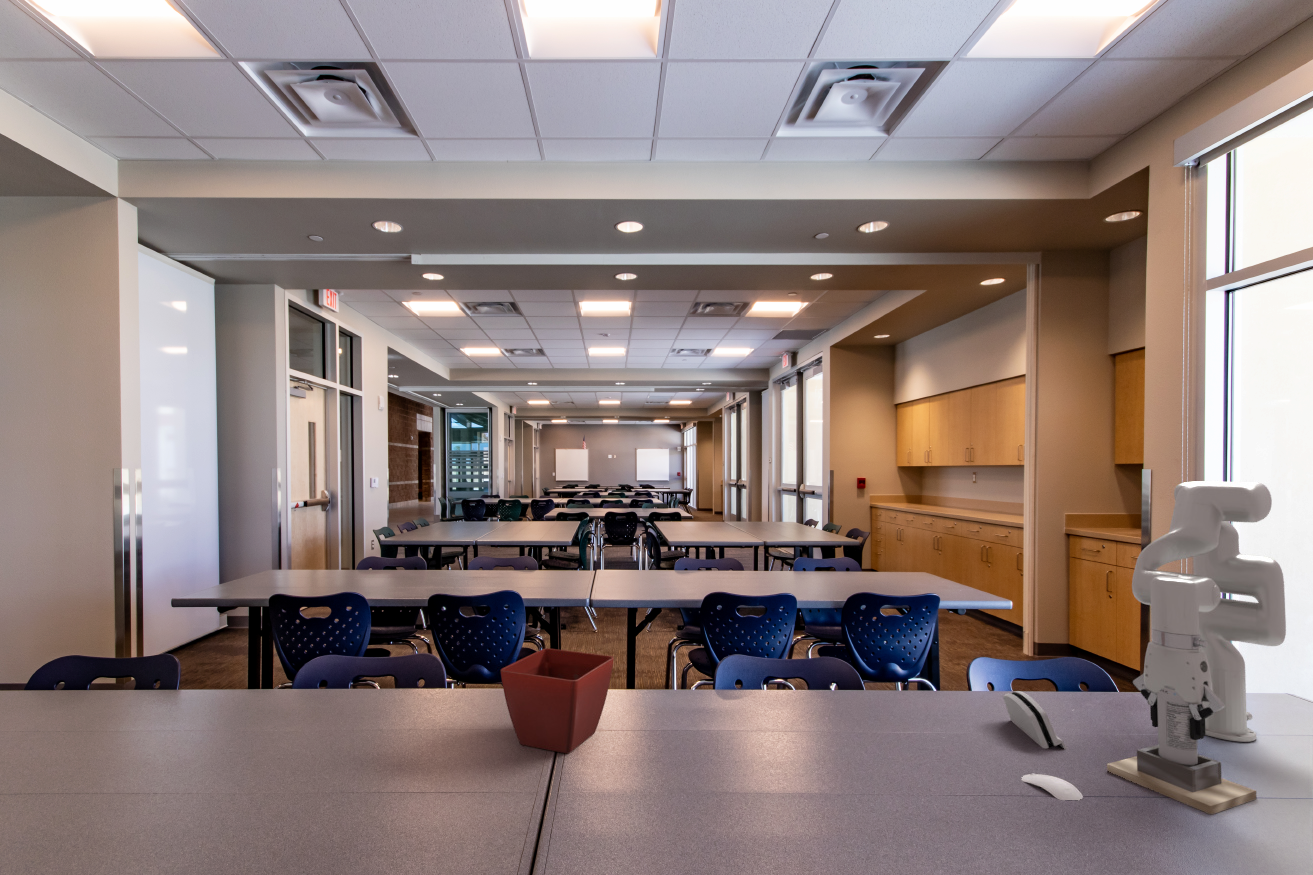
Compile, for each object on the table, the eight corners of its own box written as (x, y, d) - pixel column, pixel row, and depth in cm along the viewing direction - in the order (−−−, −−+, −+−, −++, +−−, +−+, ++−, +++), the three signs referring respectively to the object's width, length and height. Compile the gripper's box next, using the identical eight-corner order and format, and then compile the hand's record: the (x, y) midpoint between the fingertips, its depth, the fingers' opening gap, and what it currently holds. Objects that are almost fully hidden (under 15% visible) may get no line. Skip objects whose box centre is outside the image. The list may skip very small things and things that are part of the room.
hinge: (1067, 749, 143) (1050, 705, 144) (1046, 755, 143) (1029, 711, 144) (1031, 720, 159) (1016, 681, 160) (1012, 726, 160) (997, 687, 161)
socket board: (1151, 759, 139) (1150, 733, 139) (1256, 798, 122) (1255, 768, 122) (1107, 771, 133) (1106, 743, 133) (1211, 814, 116) (1210, 783, 116)
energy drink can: (1192, 759, 129) (1190, 683, 130) (1202, 772, 123) (1200, 692, 124) (1155, 753, 131) (1153, 678, 132) (1163, 765, 126) (1161, 687, 127)
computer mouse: (1034, 772, 133) (1034, 761, 133) (1092, 800, 121) (1092, 788, 122) (1010, 777, 130) (1010, 766, 130) (1067, 807, 119) (1067, 794, 119)
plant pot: (495, 748, 139) (498, 668, 140) (543, 717, 157) (545, 646, 158) (573, 764, 132) (575, 680, 133) (614, 730, 150) (615, 656, 151)
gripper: (1238, 649, 122) (1241, 746, 121) (1139, 628, 138) (1141, 714, 137) (1216, 653, 119) (1218, 752, 118) (1117, 631, 135) (1119, 719, 134)
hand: (1177, 731), depth 128 cm, fingers closed on energy drink can, 6 cm apart
